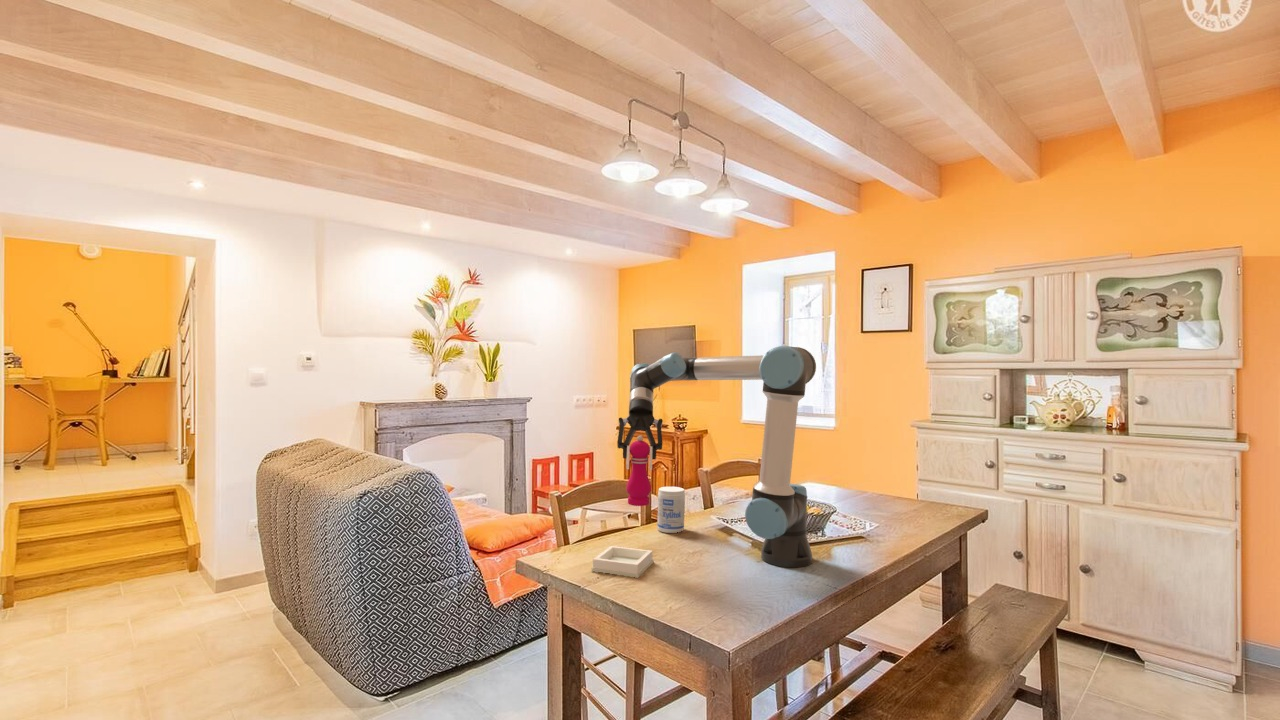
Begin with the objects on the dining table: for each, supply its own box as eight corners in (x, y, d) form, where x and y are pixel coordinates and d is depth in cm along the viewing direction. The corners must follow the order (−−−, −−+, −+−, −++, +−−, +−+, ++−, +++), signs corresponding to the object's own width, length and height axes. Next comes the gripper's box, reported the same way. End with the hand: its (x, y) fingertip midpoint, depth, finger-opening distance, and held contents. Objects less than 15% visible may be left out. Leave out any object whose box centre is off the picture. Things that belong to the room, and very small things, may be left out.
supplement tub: (662, 534, 209) (662, 492, 209) (653, 527, 218) (654, 486, 218) (688, 532, 211) (688, 490, 212) (678, 525, 221) (679, 485, 221)
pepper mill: (635, 507, 172) (637, 437, 172) (621, 502, 178) (623, 434, 178) (655, 504, 176) (657, 436, 176) (641, 499, 182) (643, 433, 182)
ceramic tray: (653, 562, 180) (653, 550, 180) (637, 577, 167) (638, 565, 167) (610, 556, 185) (610, 545, 185) (591, 571, 171) (591, 559, 171)
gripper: (670, 413, 192) (671, 475, 176) (611, 412, 192) (606, 473, 176) (671, 398, 186) (672, 460, 170) (610, 396, 187) (605, 458, 171)
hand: (639, 467), depth 173 cm, fingers closed on pepper mill, 6 cm apart
